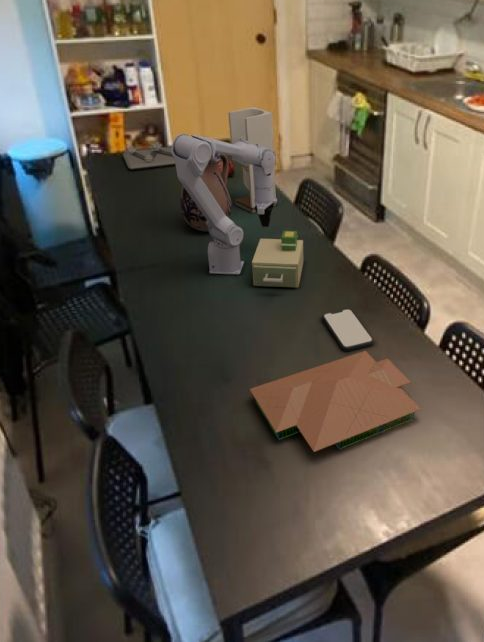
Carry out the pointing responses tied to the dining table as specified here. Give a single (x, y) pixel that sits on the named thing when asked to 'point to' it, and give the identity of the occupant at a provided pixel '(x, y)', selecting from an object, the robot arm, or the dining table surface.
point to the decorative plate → (149, 157)
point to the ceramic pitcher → (216, 188)
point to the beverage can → (230, 170)
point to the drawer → (275, 275)
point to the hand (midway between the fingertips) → (265, 225)
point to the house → (336, 400)
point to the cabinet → (278, 256)
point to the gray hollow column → (255, 130)
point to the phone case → (347, 330)
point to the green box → (289, 240)
